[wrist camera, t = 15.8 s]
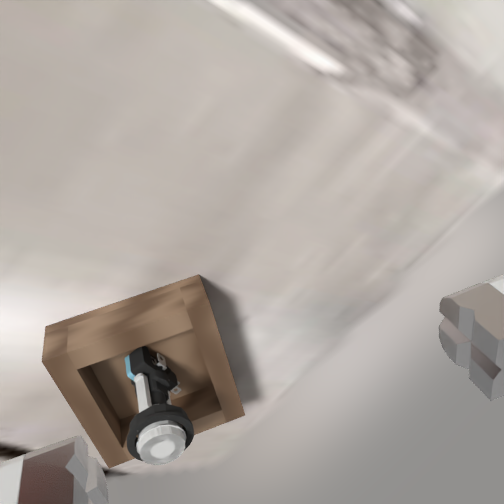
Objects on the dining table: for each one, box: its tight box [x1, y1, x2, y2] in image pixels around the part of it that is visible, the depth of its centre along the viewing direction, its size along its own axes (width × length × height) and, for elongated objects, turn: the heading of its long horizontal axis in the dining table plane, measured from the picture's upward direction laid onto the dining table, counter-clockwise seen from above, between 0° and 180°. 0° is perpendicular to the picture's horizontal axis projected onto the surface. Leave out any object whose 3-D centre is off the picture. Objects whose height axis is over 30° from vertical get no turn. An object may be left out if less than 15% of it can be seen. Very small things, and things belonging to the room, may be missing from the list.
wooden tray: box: [42, 275, 245, 468], centre depth 44 cm, size 14×15×4 cm
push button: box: [125, 346, 194, 465], centre depth 41 cm, size 7×5×10 cm
